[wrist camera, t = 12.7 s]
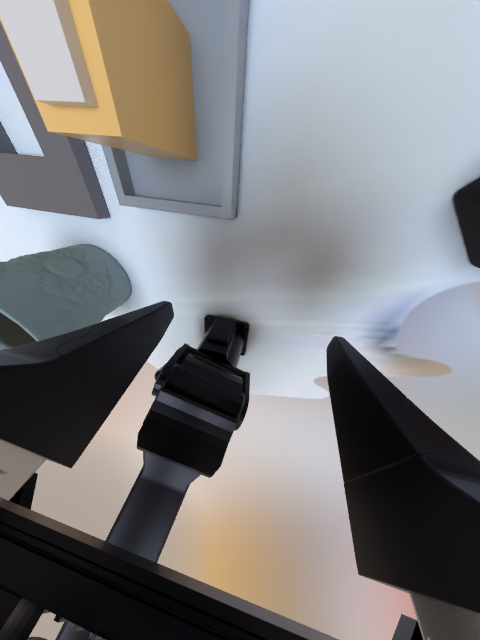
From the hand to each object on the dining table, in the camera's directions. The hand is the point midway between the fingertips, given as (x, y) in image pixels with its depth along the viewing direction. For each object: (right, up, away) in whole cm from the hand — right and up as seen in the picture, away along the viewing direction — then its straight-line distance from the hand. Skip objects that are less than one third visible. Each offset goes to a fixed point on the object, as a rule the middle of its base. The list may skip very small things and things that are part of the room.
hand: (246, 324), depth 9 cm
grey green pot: (-20, +7, +15) cm, 26 cm away
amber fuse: (-6, +16, +3) cm, 17 cm away
